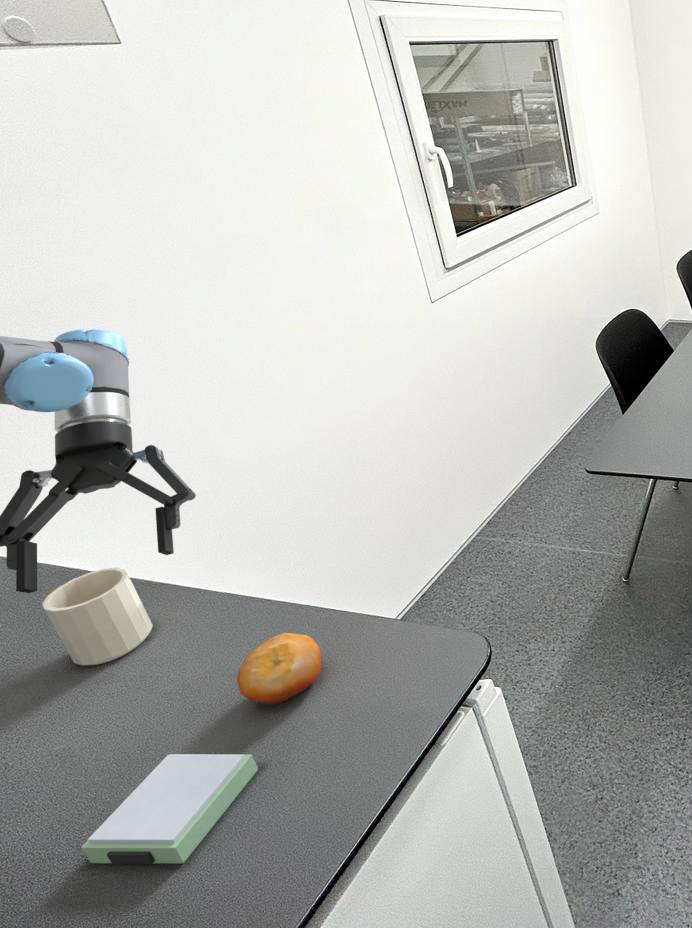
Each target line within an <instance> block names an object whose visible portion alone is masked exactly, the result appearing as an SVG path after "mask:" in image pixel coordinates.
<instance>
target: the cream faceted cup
mask: <svg viewBox="0 0 692 928" xmlns="http://www.w3.org/2000/svg"><path fill="white" fill-rule="evenodd" d="M130 577H131V576H130V575H129V573H128V572H127V570H126V569H125V568H121V567H108V568H107V567H106V568H102V569H98V570H94V571H91V572H87V573H85V574H83V575H80V576H78V577H75V578H72V579H71V580H68V581H67V582H65V583H64V584H62V585H59V586H58V587H56V589H54V590H53V591H51V593H49V594H48V595H47V596H46V597H45V599H44V600H43V601H42V603H41V604H42V609H43V610H44V612H45V614H46V616H47V617H48V619H49V621H50V623H51V625H52V626H53V629H54V630H55V631H56V634H57V635H58V637H59V639H60V640H61V642H62V645H63V646H64V648H65V649H66V651H67V653H68V655H69V657H70V658H71V660H72V662H73V663H74V664H76V665H79V666H97V665H100V664H106V663H108V662H111V661H114V660H116V659H118V658H121V657H122V656H125V655H126V654H128V653H130V652H131V651H132V650H134V649H136V648H137V647H138V646H139V645H141V644H142V643H143V642H144V641H145V640H146V638H147V637H148V636H149V635H150V633H151V632H152V629H153V627H154V625H153V622H152V620H151V618H150V617H149V614H148V612H147V610H146V608H145V605H144V604H143V602H142V600H141V598H140V596H139V594H138V592H137V589H136V588H135V586H134V584H133V581H132V579H131V578H130Z"/></svg>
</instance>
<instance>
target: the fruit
mask: <svg viewBox="0 0 692 928" xmlns="http://www.w3.org/2000/svg"><path fill="white" fill-rule="evenodd" d="M321 670H322V652H321V649H320V647H319V645H318V644H317V642H316V641H315V640H314V638H312V637H310V636H309V635H306V634H299V633H293V632H283V633H279V634H277V635H275V636H273V637H272V638H269V639H267V640H265V641H264V642H262V643H261V644H260V645H258V647H255V648H254V650H253V651H251V652H250V653H249V654H248V656H247V657H246V659H245V660H244V661H243V662H242V664H241V666H240V668H239V669H238V673H237V676H236V682H237V686H238V692H239V693H240V694H241V695H242V696H243V697H245V698H247V699H248V700H250V701H253V702H257V703H261V704H265V705H269V706H276V705H279V704H281V703H284V702H286V701H288V700H289V699H291V698H293V697H294V696H297V695H298V694H300V693H301V692H303V691H304V690H306V689H307V688H308V687H310V686H311V685H312V684H313V683H314V682H315V681H316V680H317V678H318V677H319V675H320V673H321Z"/></svg>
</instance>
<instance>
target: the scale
mask: <svg viewBox="0 0 692 928" xmlns="http://www.w3.org/2000/svg"><path fill="white" fill-rule="evenodd" d="M258 771H259V767H258V766H257V763H256V761H255V759H254V756H253V754H249V753H247V754H242V753H241V754H240V753H239V754H238V753H237V754H233V753H232V754H231V753H230V754H229V753H227V754H226V753H225V754H223V753H222V754H221V753H219V754H218V753H217V754H215V753H214V754H213V753H206V754H205V753H198V754H197V753H169V754H167V755H166V756H165V757H164V758H163V759H162V760H161V761H160V763H158V765H157V766H156V767H155V768H154V769H153V770H152V771H151V772H150V773H149V774H148V775H147V776H146V777H145V778H144V779H143V781H141V783H140V784H138V786H137V787H136V788H135V789H134V790H132V791H131V793H130V794H129V795H128V796H127V797H126V799H124V800H123V802H121V804H120V805H119V806H117V808H116V809H115V810H114V811H113V812H112V813H111V814H110V815H109V816H108V817H107V818H106V820H104V822H103V823H102V824H100V826H99V827H97V828H96V830H95V831H94V832H93V833H92V834H91V835H90V836H89V837H88V838H87V841H86V842H85V843H84V844H83V845H82V846H81V850H82V851H83V853H84V854H85V856H86V858H87V859H88V861H89V862H90V863H91V864H112V865H113V864H114V865H117V864H118V865H119V864H121V865H122V864H125V865H126V864H127V865H128V864H129V865H133V864H134V865H135V864H136V865H139V864H140V865H142V864H144V865H147V864H148V865H149V864H150V865H152V864H184V863H185V862H186V861H187V860H188V858H189V857H190V856H191V855H192V853H193V852H194V851H195V850H196V848H197V847H198V846H199V845H200V843H201V842H202V841H203V840H204V838H205V837H206V836H207V834H208V833H209V832H210V831H211V830H212V829H213V827H214V826H215V825H216V823H217V822H218V821H219V820H220V819H221V817H222V816H223V815H224V813H225V812H226V811H227V809H229V807H230V805H231V804H232V803H233V802H234V801H235V800H236V798H237V797H238V796H239V794H240V793H241V792H242V790H243V789H244V788H245V787H246V786H247V784H249V782H250V781H251V780H252V778H253V777H254V775H255V774H256V773H257V772H258Z"/></svg>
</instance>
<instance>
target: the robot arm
mask: <svg viewBox="0 0 692 928" xmlns="http://www.w3.org/2000/svg"><path fill="white" fill-rule="evenodd" d="M129 366H130V358H129V354H128V350H127V345H126V341H125V339H124V338H123V337H122V336H121V335H119V334H118V333H115V332H113V331H110V330H106V329H99V328H98V329H97V328H93V329H87V330H85V329H73V330H69V331H65V332H63V333H61V334H59V335H58V336H56V337H55V339H54V340H53V341H51V340H49V341H47V340H37V339H28V338H20V337H11V336H5V335H4V336H3V335H0V405H6V406H7V405H8V406H13V407H16V408H18V409H20V410H23V411H29V412H32V411H33V412H37V413H54V424H53V425H54V432H57V433H56V434H55V435H54V458H55V464H54V466H53V468H52V469H48V470H42V471H35V470H32V469H27V470H25V471H23V472H22V473H21V475H20V480H19V487H18V488H17V489H16V491H15V493H14V494H13V495H12V497H11V499H10V500H9V502H8V503H7V504H6V506H5V508H4V509H3V511H2V512H1V514H0V548H1V547H2V548H3V547H6V567H7V569H8V570H12V571H16V572H15V574H16V576H15V580H16V581H15V585H16V586H15V591H16V592H18V593H19V592H20V593H26V594H31V593H35V592H38V543H37V542H34V541H33V542H32V539H33V538H34V537H35V536H36V535H38V533H39V532H40V531H41V530H42V529H43V528H44V527H45V526H46V525H47V524H48V523H49V522H50V521H51V520H52V519H53V518H54V517H55V515H57V514H58V513H59V512H60V511H61V510H62V508H63V507H64V506H65V505H66V504H68V503H69V502H70V501H72V500H74V499H75V498H76V497H77V496H78V495H79V494H85V495H86V494H89V493H93V492H96V491H99V490H108V489H112V488H115V487H116V486H117V485H119V484H120V483H121V482H122V483H124V484H126V485H128V486H130V487H131V488H133V489H135V490H137V491H138V492H140V493H142V494H144V495H145V496H147V497H149V498H151V499H153V500H154V501H156V502H158V503H160V504H161V505H163V506H158V507H155V509H154V510H155V523H156V540H157V553H159V554H161V555H164V556H170V555H173V554H174V539H173V538H174V537H173V530H176V529H179V528H180V526H181V524H182V523H181V511H180V507H181V506H182V505H183V504H184V503H186V502H188V501H193V500H194V499H196V496H197V494H196V493H195V492H194V491H193V490H192V488H191V487H190V486H189V485H188V484H187V483H186V482H185V481H184V480H183V479H182V478H181V477H180V476H179V474H177V473H176V472H175V470H174V469H173V468H172V467H171V466H170V465H169V464H168V463H167V462H166V460H165V457H164V452H163V450H162V449H160V448H159V447H157V446H155V445H154V444H149V445H146V446H145V447H144V449H142V450H138V451H135V452H134V450H133V447H134V446H133V430H132V427H131V426H130V424H131V423H132V417H131V416H132V415H131V399H130V382H129V381H130V379H129ZM138 461H140V462H142V463H144V464H147V465H149V466H150V467H151V468H152V469H153V470H154V471H155V472H156V473H157V474H158V475H159V476H160V477H161V478H162V479H163V481H165V482H166V484H167V485H168V486H169V487H170V488H171V489H172V490H173V491H174V492H175V494H174V495H169V494H167V493H165V492H164V491H162V490H160V489H158V488H157V487H155V486H153V485H151V484H150V483H147V482H146V481H144V480H142V479H140V478H139V477H137V476H135V475H133V474H132V473H130V472H131V470H132V469H133V468H134V466H135V465H137V463H138ZM53 479H54V480H56V481H57V482H56V483H55V485H53V487H51V488H50V490H49V491H48V494H47V496H46V497H44V498H43V499H42V500H41V501H40V502H39V504H38V505H36V506H35V508H34V509H32V507H33V506H34V504H35V503H36V501H37V500H38V498H39V496H40V495H41V493H42V491H43V488H44V487H47V486H48V485H49V482H50V481H51V480H53ZM31 509H32V511H31ZM29 511H30V512H29Z"/></svg>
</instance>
